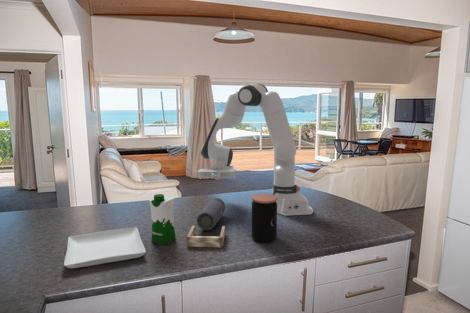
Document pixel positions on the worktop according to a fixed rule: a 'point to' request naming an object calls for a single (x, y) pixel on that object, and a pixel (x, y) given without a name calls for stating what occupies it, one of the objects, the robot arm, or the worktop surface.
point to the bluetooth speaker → (211, 214)
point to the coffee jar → (264, 218)
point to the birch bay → (205, 239)
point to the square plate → (103, 247)
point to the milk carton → (162, 219)
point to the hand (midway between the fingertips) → (215, 176)
